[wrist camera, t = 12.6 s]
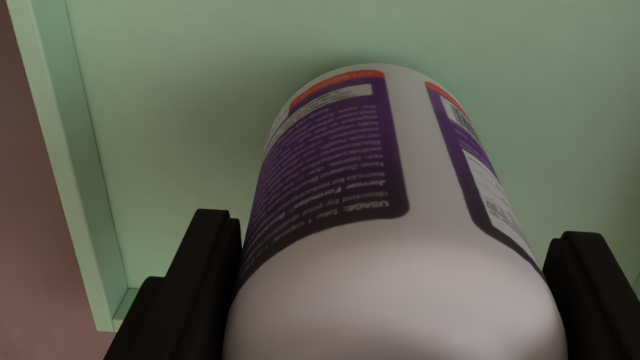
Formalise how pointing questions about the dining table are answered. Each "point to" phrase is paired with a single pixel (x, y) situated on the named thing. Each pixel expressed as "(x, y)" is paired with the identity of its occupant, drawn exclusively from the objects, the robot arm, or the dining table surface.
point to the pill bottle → (384, 234)
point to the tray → (291, 75)
